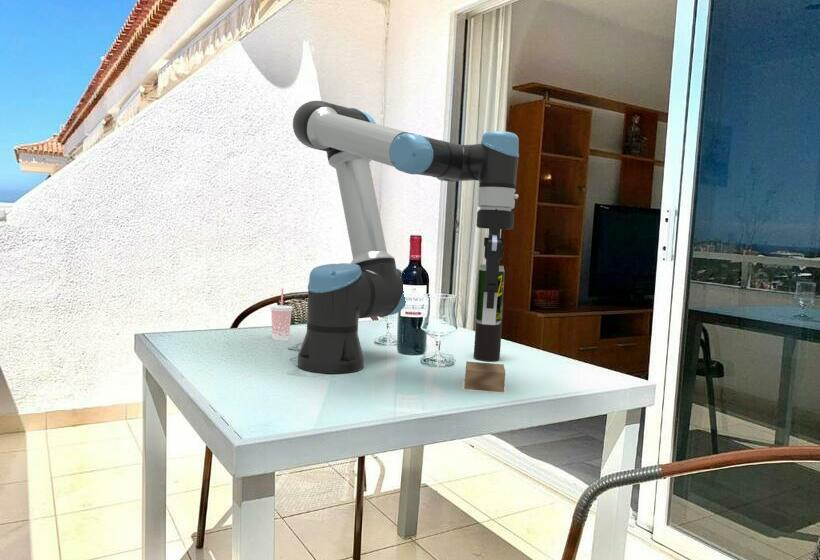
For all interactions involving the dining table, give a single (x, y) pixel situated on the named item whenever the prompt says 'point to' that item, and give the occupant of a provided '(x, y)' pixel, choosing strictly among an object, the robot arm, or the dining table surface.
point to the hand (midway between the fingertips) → (488, 321)
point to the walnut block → (484, 376)
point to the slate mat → (481, 390)
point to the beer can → (481, 294)
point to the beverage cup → (281, 320)
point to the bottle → (488, 341)
